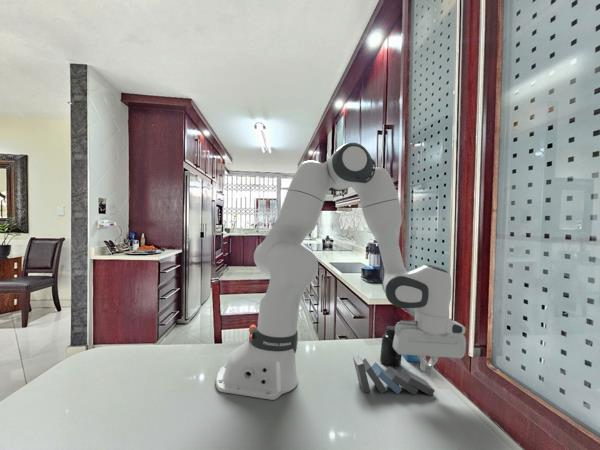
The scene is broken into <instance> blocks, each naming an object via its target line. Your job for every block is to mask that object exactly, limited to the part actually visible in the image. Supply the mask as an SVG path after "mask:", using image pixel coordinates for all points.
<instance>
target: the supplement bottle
mask: <svg viewBox="0 0 600 450" xmlns="http://www.w3.org/2000/svg"><path fill="white" fill-rule="evenodd" d="M394 335H395V325H387V326H386V327H385V333H384V334H383V335H382V337H381V346H380V356H379V357H380V358H379V359H380V362H381V363H382V364H383V365H384V366H387V367H388V366H390V367H391V368H398V367H400V366H401V364H402V357H403V355H400V354H398V353H397V352H396V351H395V350H394V348H393V340H394Z"/></svg>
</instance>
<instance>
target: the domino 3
mask: <svg viewBox="0 0 600 450" xmlns="http://www.w3.org/2000/svg"><path fill="white" fill-rule="evenodd" d="M370 366H371V367H372V369H373V370H374V372H375V373H376V375H377V376H378V377H379V379H380V380H381V382H382V383H384V384H385V385H387V386H388V387H389V388H390V389H391V390H392V391H393V392H394V393H395V394H397V395H399V394H400V392H402V390H403V388H402V387H401V386H400V385H398V384H397V383H395V382H394V381H392V380H391V378H390V377H389V376H388V374H387V373H386V369H384V368H383V367H382V366H380V365H379V364H378V363H377V362H374V363H373V364H372V365H370Z"/></svg>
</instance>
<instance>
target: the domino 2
mask: <svg viewBox="0 0 600 450" xmlns="http://www.w3.org/2000/svg"><path fill="white" fill-rule="evenodd" d="M361 360H362V361H363V363H364V366H365V370H366V374H367V376H369V378H370V379H371V382H372V383H373V384H374V385H375V387H376V388H377V390H378V391H379V393H380V394H381V393H382V394H384V393H385V392H387V388H386V386H385V385H384V382H383V381H382V380H381V379H380V378H379V377H378V376H377V375H376V373H375V372H374V370H373V369H372V367H371V366H372V365H371V364H370V363H369V361H368V360H367V358H364V359H361Z"/></svg>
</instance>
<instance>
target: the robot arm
mask: <svg viewBox="0 0 600 450" xmlns="http://www.w3.org/2000/svg"><path fill="white" fill-rule="evenodd" d="M334 151H335V152H334V153H333V154H332V155H331V156H330V157H329V158H328V159H327V161H325V162H319V161H317V160H306V161H303V162H302V163H301V164H300V165H299V167H298V168H297V170H296V172H294V173H295V174H294V176H293V177H292V179H291V182H290V184H289V187H288V189H287V192H286V194H285V196H284V200H283V203H282V205H281V208H280V211H279V213H278V215H277V218H276V220H275V221H274V223H273V225H272V226H271V228H270V230H269V232H268V233H267V235H266V236H265V237H264V240H263V241H262V242H261V243H260V244H258V245H257V247H256V248H255V251H254V252H253V261H254V264H255V266H256V267H257V269H258V271H260V272H261V273H262V274H263V275H265V276H267V277H269V283H268V287H267V289H266V292H265V294H264V296H263V297H261V299H260V301H259V309H258V319H257V326H256V324H251V325H250V326H249V327H248V328H249V329H248V331H249V336H248V339H249V340H247V341H246V342H245V343H243V344H241V345H240V346H237V347H236V348H235V349H233V350H232V351H231V352H230V354H229V357H228V359H227V361H226V363H225V364H223V365H222V366H221V367H220V369H219V370H218V373H217V374H216V378H215V387H216V389H217V390H218V392H220V393H227V394H231V395H232V394H233V395H238V396H239V395H240V396H245V397H246V396H247V397H253V398H258V399H264V400H265V399H266V400H271V401H273V400H277V399H278V398H280V397H281V395H283V394H286V393H288V392H291V391H293V390H294V389H295V388H296V387H297V386H298V383H299V378H298V374H297V366H296V365H297V363H296V353H297V349H298V343H299V331H298V321H299V311H300V305H301V302H302V298H303V296H304V292H305V290H306V288H307V287H308V286H309V285H310V284H312V283H313V281H314V280H315V279H316V277H317V275H318V273H319V262H318V259H317V257H316V255H315V254H314V253H313V252H311V250H309V249H308V248H306V247H305V246H302V243H303V242H304V240H305V239H306V237H308V236H309V235H310V234H311V233H312V232H313V231H314V230H315V228H316V227H317V224H318V221H319V219H320V215H321V212H322V208H323V206H324V203H325V201H326V198H327V197H326V196H327V195H328V192H329V191H331V192H343V191H346V190H348V189H350V188H351V189H352V190H354V191H355V193H356V194H357V196H358V198H359V203H360V208H361V211H362V214H363V217H364V220H365V223H366V225H367V228H368V229H369V231H370V233H371V235H372V236H373V237H374V239H375V241H376V243H377V246H378V249H379V253H380V258H381V262H382V266H383V274H382V279H381V287H382V290H383V292H384V294H385V296H386V299H387V300H388V302H389V303H390V304H391V305H392V306H394V307H396V308H400V309H415V312H414V320H404V319H401V320H399V322H396V323H395V325H394V326H395V335H394V340H393V348H394V350H395V351H396V352H397V353H398V354H400V355H402V356H403V355H417V356H418V358H419V360H420V362H419V363H420V366H419V367H420V370H421V371H423V372H433V371H434V366H435V365H436V364H437V362H438V361H439V358H450V359H451V358H452V359H462V358H463V357H464V356H465V355H466V351H467V350H466V349H467V340H466V336H465V333H466V327H465V326H464V325H463V324H461V323H459V322H457V321H456V320H453V319H451V318H450V312H449V305H450V303H451V300H452V277H451V276H452V275H451V274H450V272H448V271H447V270H446V269H444V268H441V267H439V266H436V265H431V264H428V263H427V264H422V265H421V266H420V267H417V268H415V269H413V270H409V271H408V270H407V268H406V267H405V264H404V261H403V257H402V252H401V248H400V244H399V233H400V229H401V226H402V223H403V219H402V218H403V217H402V207H401V202H400V199H399V194H398V191H397V188H396V185H395V184H394V181H393V179H392V177H391V174H390V172H389V171H388V170H387V169H386V168H385V167H384V168H383V167H379V166H377V164H376V162H375V160H374V159H373V158H372V156H371V154H370V153H369V151H368V150H367V148H365V147H364V146H363V145H361V144H360V143H357V142H348V143H345V144H343V145H341V146H339V147H338V148H337V149H336V150H334ZM427 357H430V358H429V360H428V362H425V360H426V359H427Z"/></svg>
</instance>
